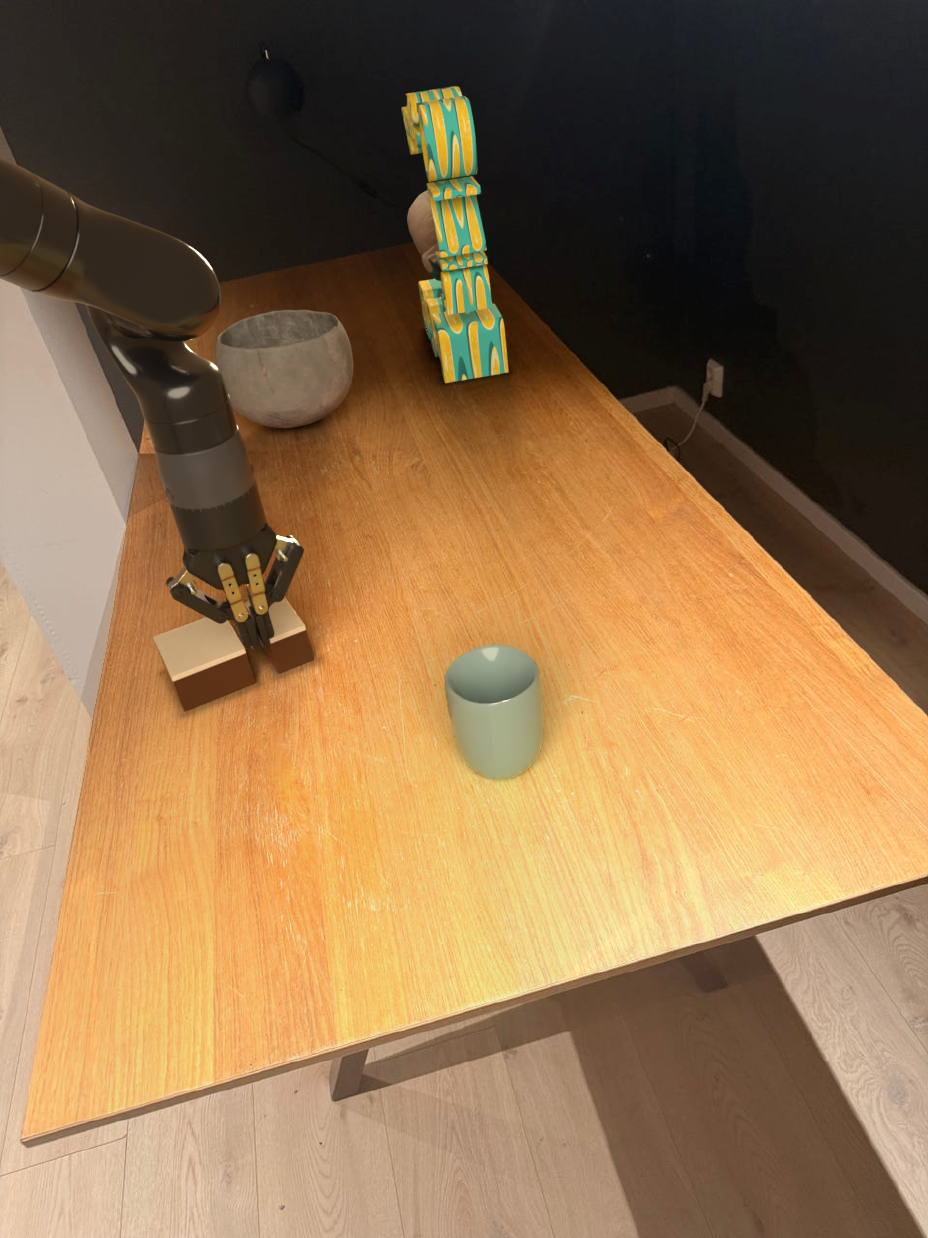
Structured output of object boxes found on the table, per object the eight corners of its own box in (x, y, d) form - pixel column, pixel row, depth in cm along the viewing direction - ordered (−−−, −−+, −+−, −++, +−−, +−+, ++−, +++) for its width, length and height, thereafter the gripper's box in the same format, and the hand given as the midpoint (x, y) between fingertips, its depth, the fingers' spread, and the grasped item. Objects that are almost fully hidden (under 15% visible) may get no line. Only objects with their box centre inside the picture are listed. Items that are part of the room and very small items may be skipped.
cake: (184, 712, 94) (171, 677, 92) (165, 670, 100) (152, 636, 98) (256, 683, 97) (244, 648, 94) (233, 644, 103) (222, 610, 100)
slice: (278, 674, 97) (267, 639, 95) (254, 636, 103) (244, 602, 101) (314, 659, 99) (305, 625, 96) (289, 622, 105) (279, 589, 102)
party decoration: (509, 374, 155) (484, 97, 131) (439, 385, 154) (401, 110, 131) (478, 314, 180) (452, 74, 157) (418, 324, 179) (383, 84, 156)
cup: (498, 808, 79) (486, 719, 73) (441, 761, 84) (425, 675, 79) (565, 759, 83) (558, 671, 77) (506, 718, 88) (496, 632, 82)
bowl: (356, 441, 141) (336, 342, 132) (221, 455, 142) (193, 359, 133) (368, 386, 157) (351, 296, 149) (247, 400, 159) (223, 311, 150)
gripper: (270, 445, 86) (310, 601, 96) (124, 491, 82) (182, 650, 92) (297, 475, 81) (337, 637, 91) (143, 526, 76) (202, 691, 87)
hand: (259, 643), depth 91 cm, fingers closed
